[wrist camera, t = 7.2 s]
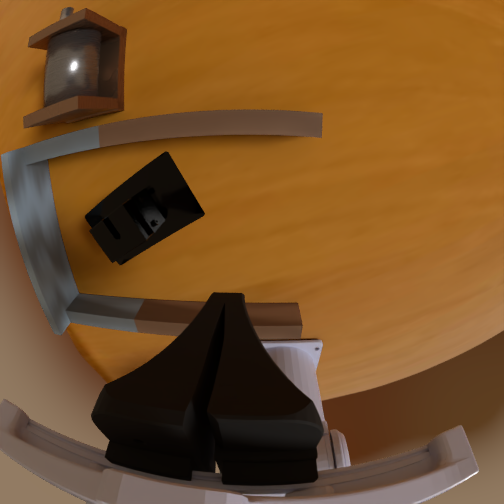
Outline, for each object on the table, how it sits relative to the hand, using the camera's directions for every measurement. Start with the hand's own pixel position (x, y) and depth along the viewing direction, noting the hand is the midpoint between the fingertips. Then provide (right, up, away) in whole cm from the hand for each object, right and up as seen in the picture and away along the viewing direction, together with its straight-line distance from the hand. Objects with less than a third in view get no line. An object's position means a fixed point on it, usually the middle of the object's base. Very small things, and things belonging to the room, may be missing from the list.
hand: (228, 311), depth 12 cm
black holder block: (-8, +6, +9) cm, 13 cm away
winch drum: (-11, +17, +2) cm, 20 cm away
